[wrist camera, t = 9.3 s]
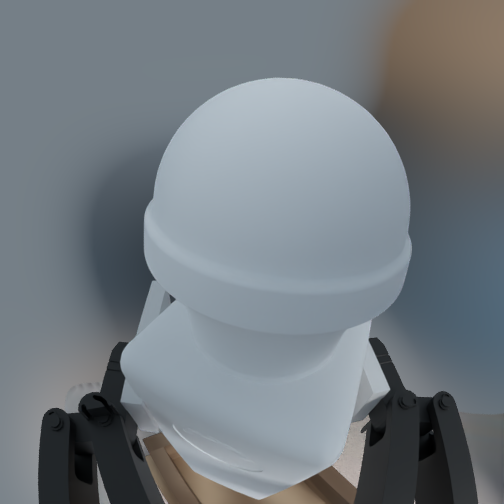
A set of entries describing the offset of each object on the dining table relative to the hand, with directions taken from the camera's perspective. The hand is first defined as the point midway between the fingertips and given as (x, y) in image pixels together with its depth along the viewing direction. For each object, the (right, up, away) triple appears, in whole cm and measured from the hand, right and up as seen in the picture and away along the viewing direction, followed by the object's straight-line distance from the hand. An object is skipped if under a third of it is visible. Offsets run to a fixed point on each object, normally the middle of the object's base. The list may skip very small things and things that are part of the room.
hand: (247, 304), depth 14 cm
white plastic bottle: (-1, -13, +2) cm, 13 cm away
